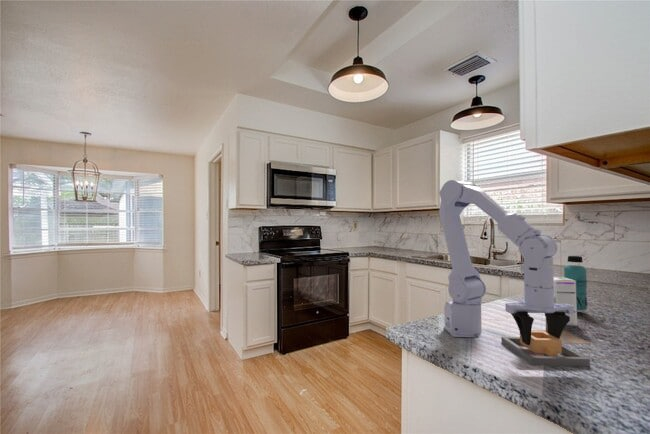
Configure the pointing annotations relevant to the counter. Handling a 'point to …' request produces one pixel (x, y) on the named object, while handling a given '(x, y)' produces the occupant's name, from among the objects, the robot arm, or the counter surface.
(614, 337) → the counter surface
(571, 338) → the stake board
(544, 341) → the ring
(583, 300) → the beverage bottle
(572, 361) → the tray
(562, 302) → the syrup box
